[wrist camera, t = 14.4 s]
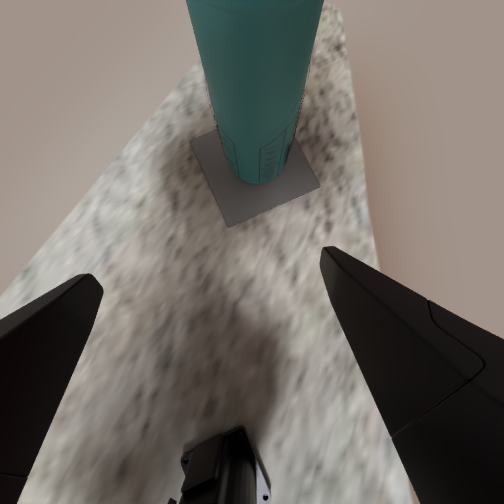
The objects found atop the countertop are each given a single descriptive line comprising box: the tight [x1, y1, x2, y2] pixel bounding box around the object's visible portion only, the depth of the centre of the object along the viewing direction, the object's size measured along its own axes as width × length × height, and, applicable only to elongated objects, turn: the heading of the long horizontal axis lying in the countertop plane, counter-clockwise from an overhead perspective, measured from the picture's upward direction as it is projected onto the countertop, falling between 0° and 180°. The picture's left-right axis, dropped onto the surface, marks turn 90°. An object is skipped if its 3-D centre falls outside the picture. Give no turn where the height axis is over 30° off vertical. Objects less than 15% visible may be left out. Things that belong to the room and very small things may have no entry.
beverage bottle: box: [186, 0, 324, 184], centre depth 13 cm, size 6×7×20 cm
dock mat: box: [190, 129, 320, 228], centre depth 23 cm, size 11×11×1 cm
